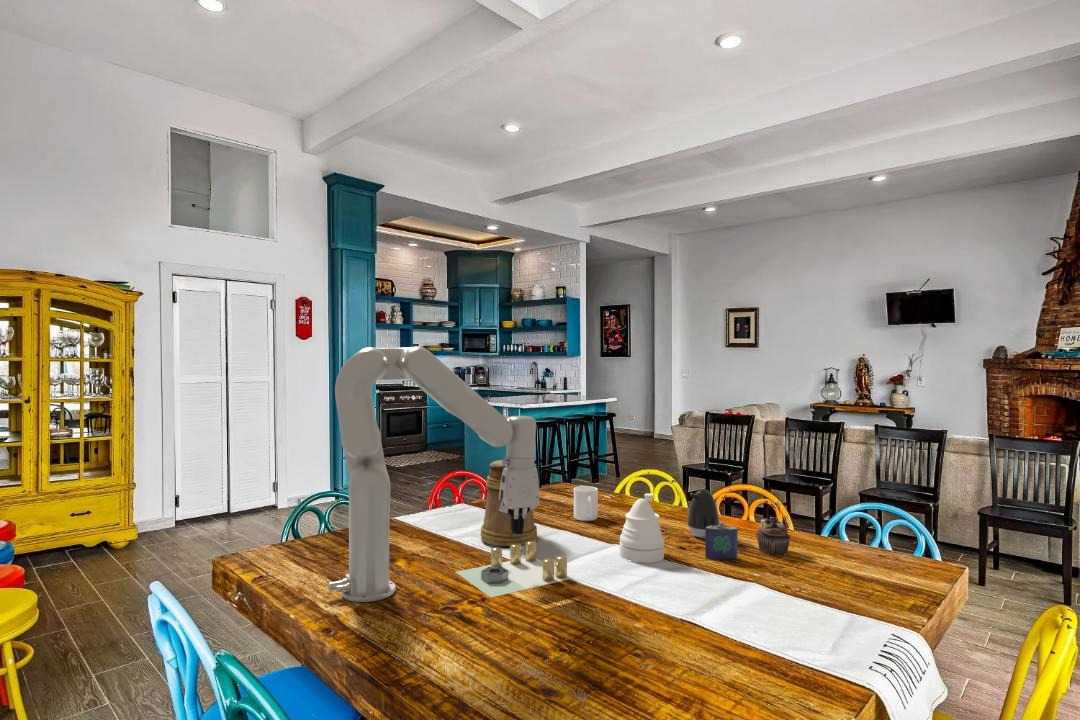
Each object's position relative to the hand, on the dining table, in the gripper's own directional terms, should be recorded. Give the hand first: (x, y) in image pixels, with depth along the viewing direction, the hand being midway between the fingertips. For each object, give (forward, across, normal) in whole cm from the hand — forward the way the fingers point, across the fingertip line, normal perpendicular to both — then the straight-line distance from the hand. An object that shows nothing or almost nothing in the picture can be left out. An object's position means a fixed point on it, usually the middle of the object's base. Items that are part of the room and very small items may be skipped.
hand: (517, 532), depth 160 cm
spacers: (+11, +4, 0) cm, 11 cm away
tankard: (+12, +16, +32) cm, 37 cm away
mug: (+10, +50, +36) cm, 63 cm away
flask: (+10, +58, -18) cm, 62 cm away
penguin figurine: (+9, +70, 0) cm, 71 cm away
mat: (+12, -1, 0) cm, 12 cm away
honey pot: (+10, +40, -4) cm, 42 cm away
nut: (+11, -6, -1) cm, 13 cm away
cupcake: (+9, +76, -22) cm, 80 cm away
